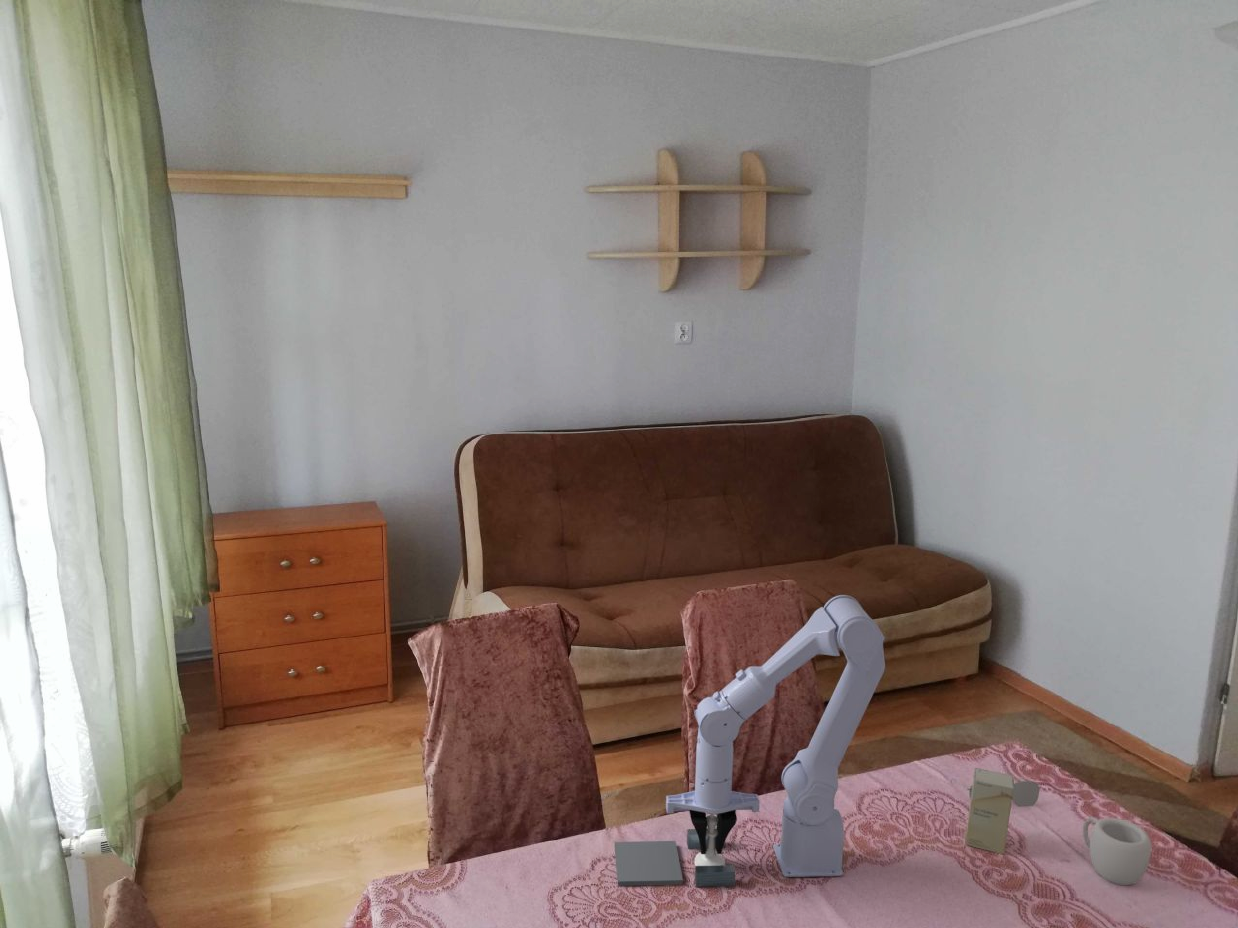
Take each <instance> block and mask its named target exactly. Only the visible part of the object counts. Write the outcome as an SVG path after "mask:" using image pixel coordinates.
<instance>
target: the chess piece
mask: <svg viewBox="0 0 1238 928" xmlns="http://www.w3.org/2000/svg"><path fill="white" fill-rule="evenodd" d="M706 819H707V823H708V824H707V831H706V835H707V836H708V840H707V845H706V854H701V851H700V852H698V853H697V854H696V855H695V858H694V867H695V866H721V865H726V859H725V857H724V855H722V853H721V854H717V851H716V848H715V842H714V837H715V836H717V835H718V831H717V830H716V828H717V823H718V818H717V814H711V813H706Z"/></svg>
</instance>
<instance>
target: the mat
mask: <svg viewBox="0 0 1238 928" xmlns="http://www.w3.org/2000/svg"><path fill="white" fill-rule="evenodd" d="M678 852H679V851H678V847H677V842H676V840H653V841H652V840H651V841H649V840H647V841H644V840H643V841H641V840H640V841H614V854H615V855H614V856H615V866H616V880H617V886H618V887H631V886H632V887H637V886H641V887H643V886H678V885H681V886H683V882H684V879H683V874H682V873H683V872H682V869H681V864H680V859H679V853H678Z"/></svg>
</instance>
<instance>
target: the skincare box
mask: <svg viewBox="0 0 1238 928" xmlns="http://www.w3.org/2000/svg"><path fill="white" fill-rule="evenodd" d="M973 773H974V774H973V779H972V785H973V786H972V785H971V786H972V794H971V800H970V802H969V803H970V804H969V810H968V816H967V817H968V818H967V825H966V826H967V827H966V832H965V833H966V834H965V845H966V846H969V847H974V848H976V849H981V850H984V851H988V852H993V853H997V854H1001V855H1004V854H1005V853H1006V844H1007V836H1008V830H1009V823H1010V815H1011V808H1012V803H1013V801H1012V796H1013V789H1014V783H1015V776H1014V775H1011V774H1008V773H1001V772H998V771H997V772H996V771H993V770H989V769H982V768H978V767H974V772H973Z"/></svg>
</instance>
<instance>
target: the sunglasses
mask: <svg viewBox="0 0 1238 928" xmlns="http://www.w3.org/2000/svg"><path fill="white" fill-rule="evenodd" d="M1022 778H1023V779H1025V780H1022V781H1020V780H1021V779H1022ZM953 781H954V782H956V783H957V784H959V786H961V787H962V788H963V789H965V790H966V791H969V794H968V795H969V800H970V801H971V794H972V786H973V784H972V785H970V787H965V786H964V785H963V784H961V783H960V782H958V781H957V780H956V779H955V778H951V779H950V784H952V782H953ZM1042 788H1043V787H1042V786H1041V785H1039V784H1038V783H1037V782H1035V781H1033V780H1030V779H1027V777H1024V776H1020V777H1019V778H1018V779H1017V780H1016V782H1014V789H1013V796H1012V803H1014V805H1016V806H1017V807H1034V806H1035V805H1036V803H1037V802H1038V798H1039V795H1040V789H1042Z"/></svg>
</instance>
